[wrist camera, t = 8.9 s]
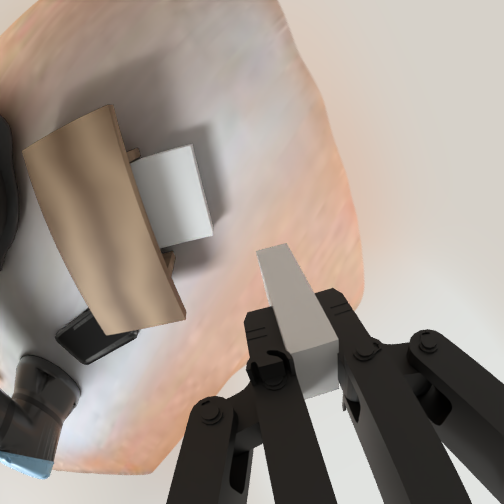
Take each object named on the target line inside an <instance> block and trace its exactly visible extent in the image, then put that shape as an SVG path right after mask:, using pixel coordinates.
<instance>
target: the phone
mask: <svg viewBox="0 0 504 504" xmlns="http://www.w3.org/2000/svg"><path fill="white" fill-rule="evenodd" d="M137 335H138V330H133V331H128V332H123V333H118V334H112V335H106V334H105V333H104V331H103V330H102V328H101V326H100V325H99V323H98V322H97V320H96V319H95V317H94V315H93V314H92V312H91V310H90V309H88V310H86V311H85V312H83V314H81V315H80V316H79V317H77V318H76V319H75V320H73V321H72V322H71V323H69V324H68V325H67V326H65V327H64V328H63V329H62V330H60V331H59V332H58V333H57V334H56V336H55V339H56V341H57V342H58V343H59V344H60V345H61V346H62V347H64V348H65V349H66V350H67V351H68V352H69V353H70V354H71V355H73V356H74V357H75V358H76V359H77V360H78V361H80V362H81V363H82V364H85V365H89V364H91V363H92V362H94V361H96V360H98V359H100V358H101V357H103V356H105V355H107V354H109V353H111V352H112V351H114V350H116V349H118V348H120V347H121V346H123V345H125V344H127V343H129V342H130V341H132V340H134V339H135V338H137Z"/></svg>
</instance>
